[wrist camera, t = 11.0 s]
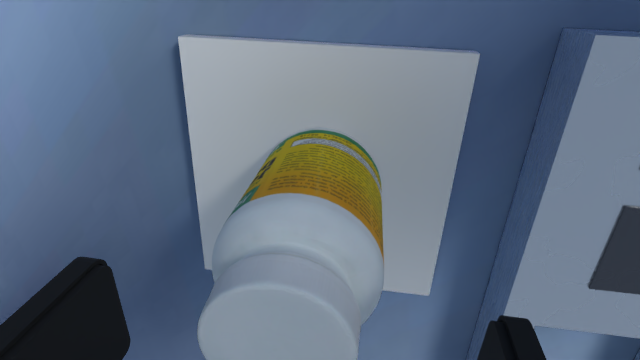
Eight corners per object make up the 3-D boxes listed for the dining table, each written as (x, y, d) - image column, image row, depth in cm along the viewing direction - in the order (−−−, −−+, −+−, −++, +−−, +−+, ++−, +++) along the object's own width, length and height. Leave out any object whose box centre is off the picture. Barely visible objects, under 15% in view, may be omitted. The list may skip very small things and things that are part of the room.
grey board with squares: (563, 27, 15) (596, 35, 13) (862, 42, 14) (960, 53, 11) (447, 422, 25) (454, 466, 23) (611, 447, 24) (636, 495, 22)
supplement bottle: (364, 240, 19) (354, 442, 11) (258, 213, 19) (164, 392, 11) (396, 139, 17) (418, 298, 8) (275, 109, 17) (173, 235, 8)
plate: (186, 34, 17) (178, 36, 16) (475, 50, 16) (480, 53, 15) (210, 260, 22) (205, 269, 21) (427, 285, 21) (429, 296, 20)
